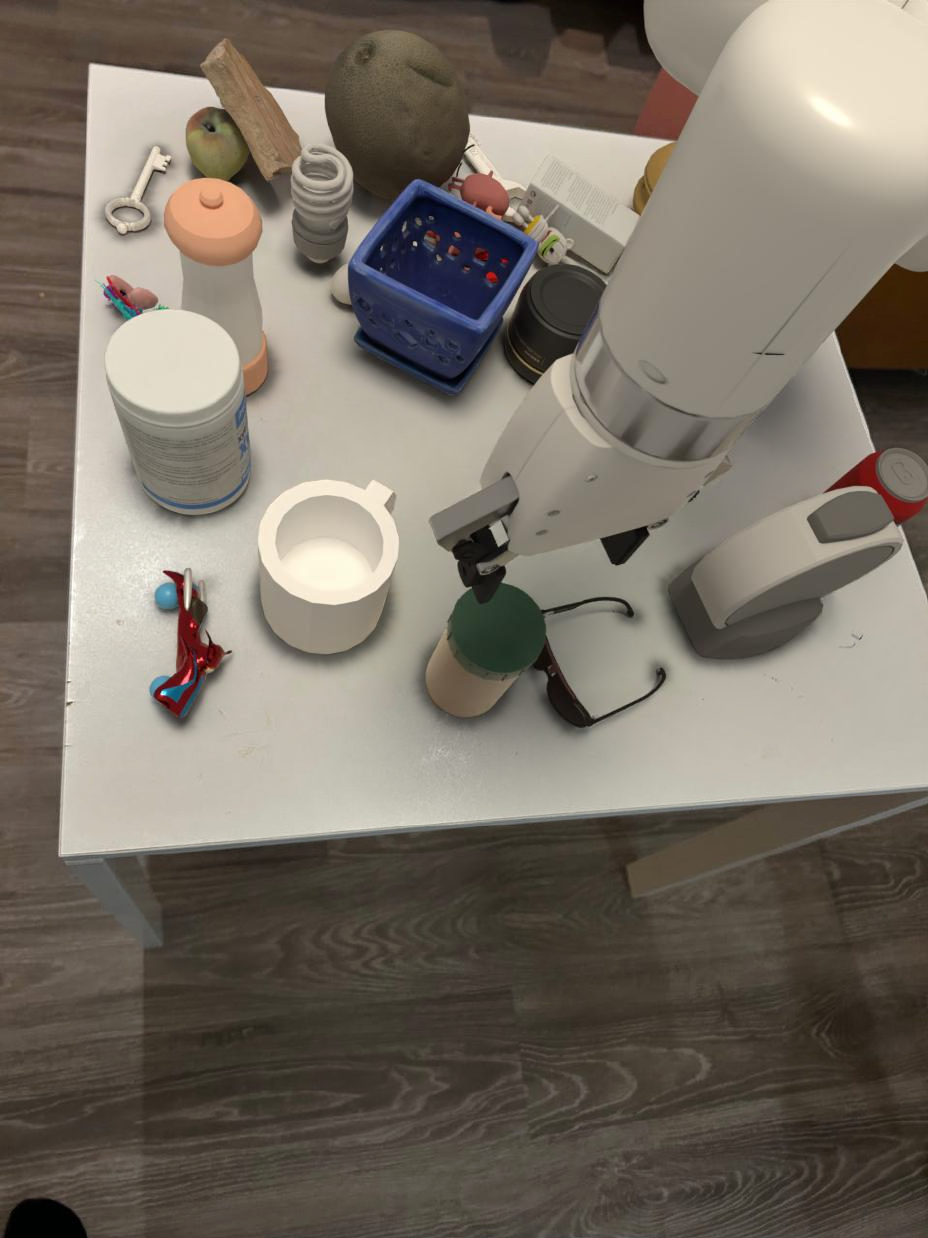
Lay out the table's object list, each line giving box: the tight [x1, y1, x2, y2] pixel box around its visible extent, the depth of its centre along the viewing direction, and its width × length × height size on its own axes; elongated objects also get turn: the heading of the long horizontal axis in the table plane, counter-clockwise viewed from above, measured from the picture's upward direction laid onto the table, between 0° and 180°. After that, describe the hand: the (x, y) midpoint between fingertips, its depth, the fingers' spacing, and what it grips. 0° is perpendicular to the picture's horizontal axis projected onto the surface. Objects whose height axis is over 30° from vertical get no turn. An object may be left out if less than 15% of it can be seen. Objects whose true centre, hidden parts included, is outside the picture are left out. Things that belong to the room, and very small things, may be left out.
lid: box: [446, 582, 547, 681], centre depth 59 cm, size 7×7×2 cm
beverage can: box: [821, 447, 928, 528], centre depth 77 cm, size 7×7×12 cm
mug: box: [257, 479, 400, 655], centre depth 65 cm, size 14×10×11 cm
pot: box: [632, 140, 677, 216], centre depth 90 cm, size 12×12×10 cm
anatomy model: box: [94, 274, 170, 321], centre depth 72 cm, size 5×8×7 cm, turn 59°
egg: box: [330, 261, 382, 306], centre depth 80 cm, size 4×6×4 cm
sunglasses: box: [531, 596, 667, 729], centre depth 70 cm, size 10×12×5 cm
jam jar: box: [424, 626, 520, 718], centre depth 64 cm, size 7×7×12 cm
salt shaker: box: [163, 177, 269, 396], centre depth 67 cm, size 7×7×19 cm
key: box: [104, 145, 172, 235], centre depth 81 cm, size 12×1×4 cm
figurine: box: [425, 170, 510, 255], centre depth 86 cm, size 12×3×7 cm
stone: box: [199, 37, 307, 182], centre depth 81 cm, size 13×12×3 cm
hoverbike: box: [149, 567, 233, 719], centre depth 63 cm, size 5×12×6 cm
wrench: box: [463, 131, 527, 223], centre depth 92 cm, size 25×5×2 cm, turn 33°
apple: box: [185, 106, 250, 182], centre depth 82 cm, size 6×8×6 cm
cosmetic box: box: [515, 154, 640, 274], centre depth 88 cm, size 6×4×12 cm
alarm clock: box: [667, 486, 905, 660], centre depth 69 cm, size 16×10×18 cm, turn 110°
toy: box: [455, 144, 574, 267], centre depth 84 cm, size 7×3×15 cm
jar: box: [504, 263, 607, 385], centre depth 81 cm, size 10×10×8 cm
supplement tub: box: [103, 308, 252, 516], centre depth 65 cm, size 10×10×15 cm
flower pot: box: [348, 179, 539, 396], centre depth 76 cm, size 13×13×12 cm
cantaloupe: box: [324, 29, 471, 201], centre depth 82 cm, size 14×14×15 cm
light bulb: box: [290, 142, 354, 264], centre depth 77 cm, size 6×6×12 cm
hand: (543, 561), depth 48 cm, fingers open, 8 cm apart
